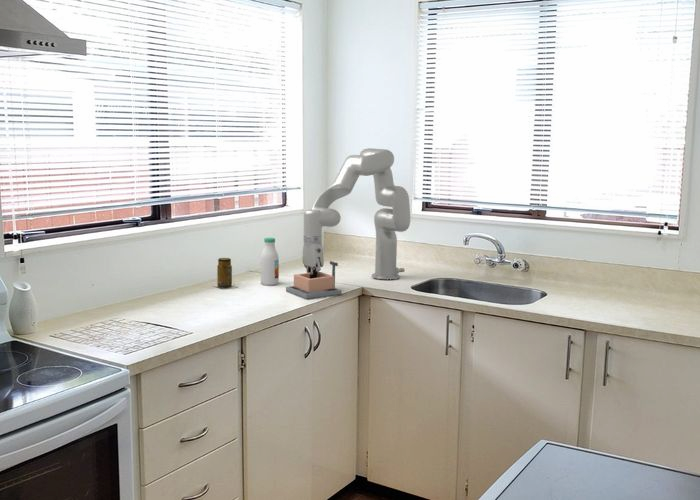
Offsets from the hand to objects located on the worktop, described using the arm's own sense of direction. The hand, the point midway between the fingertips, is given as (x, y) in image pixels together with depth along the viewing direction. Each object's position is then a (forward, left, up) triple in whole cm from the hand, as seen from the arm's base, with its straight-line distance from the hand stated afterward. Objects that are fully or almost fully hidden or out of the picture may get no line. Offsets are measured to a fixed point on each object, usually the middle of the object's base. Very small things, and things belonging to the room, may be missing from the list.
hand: (312, 282), depth 319 cm
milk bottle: (+9, -20, -3) cm, 22 cm away
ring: (+2, +5, -1) cm, 6 cm away
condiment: (+28, -24, -3) cm, 37 cm away
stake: (-10, +1, -3) cm, 10 cm away
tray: (+2, +5, -3) cm, 7 cm away
